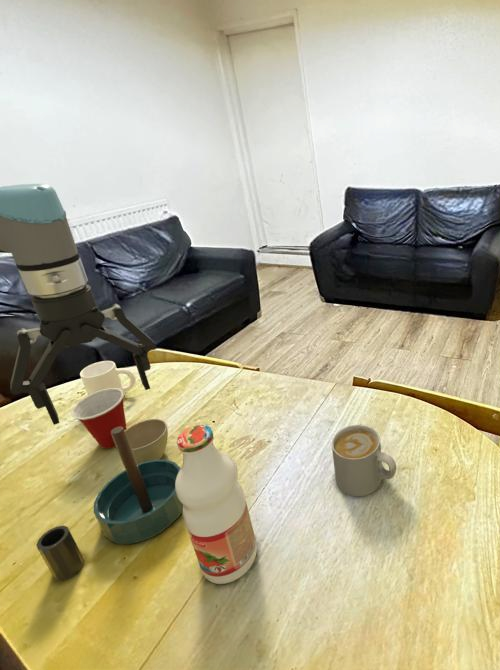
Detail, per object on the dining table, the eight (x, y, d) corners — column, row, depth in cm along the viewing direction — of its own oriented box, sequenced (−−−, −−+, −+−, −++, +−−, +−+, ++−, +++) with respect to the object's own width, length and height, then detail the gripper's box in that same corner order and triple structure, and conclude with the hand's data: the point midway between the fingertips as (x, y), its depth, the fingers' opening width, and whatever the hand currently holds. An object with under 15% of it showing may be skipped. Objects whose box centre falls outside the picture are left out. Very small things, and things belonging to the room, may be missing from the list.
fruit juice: (265, 563, 72) (235, 438, 60) (210, 598, 67) (165, 469, 55) (247, 525, 79) (217, 406, 67) (196, 553, 74) (154, 431, 62)
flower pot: (158, 436, 102) (150, 413, 99) (183, 450, 97) (176, 427, 95) (117, 463, 95) (107, 439, 92) (142, 480, 90) (133, 455, 87)
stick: (139, 512, 82) (107, 433, 73) (145, 504, 83) (115, 426, 75) (149, 513, 81) (118, 433, 73) (155, 504, 83) (125, 426, 75)
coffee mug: (326, 483, 87) (321, 446, 83) (355, 453, 94) (352, 418, 90) (377, 512, 80) (375, 474, 76) (404, 478, 87) (403, 441, 83)
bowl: (84, 544, 76) (73, 522, 74) (135, 479, 90) (127, 458, 88) (162, 548, 75) (153, 525, 73) (202, 481, 89) (195, 460, 86)
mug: (142, 384, 123) (132, 355, 119) (137, 400, 116) (127, 369, 112) (96, 394, 120) (84, 364, 116) (88, 411, 113) (75, 380, 108)
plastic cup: (82, 441, 102) (65, 402, 97) (130, 420, 109) (116, 382, 104) (92, 464, 95) (74, 423, 90) (143, 439, 101) (129, 400, 97)
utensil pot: (47, 580, 70) (29, 549, 67) (67, 555, 75) (51, 524, 71) (71, 581, 70) (54, 550, 67) (90, 556, 74) (75, 525, 71)
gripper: (-55, 323, 53) (12, 449, 62) (154, 275, 68) (184, 382, 76) (-50, 306, 58) (11, 424, 67) (143, 264, 73) (172, 366, 82)
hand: (103, 402), depth 72 cm, fingers open, 13 cm apart
